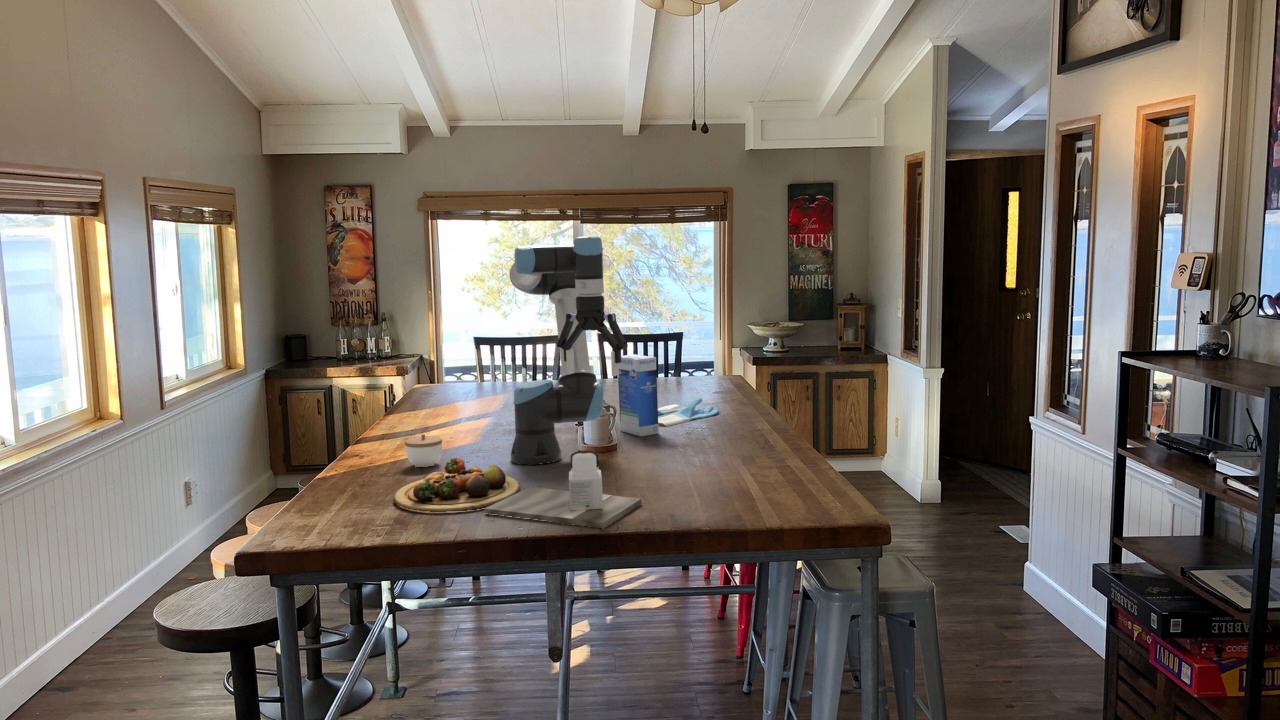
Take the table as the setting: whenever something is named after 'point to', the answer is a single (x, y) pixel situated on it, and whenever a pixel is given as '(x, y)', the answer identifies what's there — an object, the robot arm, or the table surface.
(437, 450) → the lidded jar
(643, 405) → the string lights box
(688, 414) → the rubber gloves
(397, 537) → the table surface
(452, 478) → the wooden plate with food
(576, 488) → the container
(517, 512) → the board
